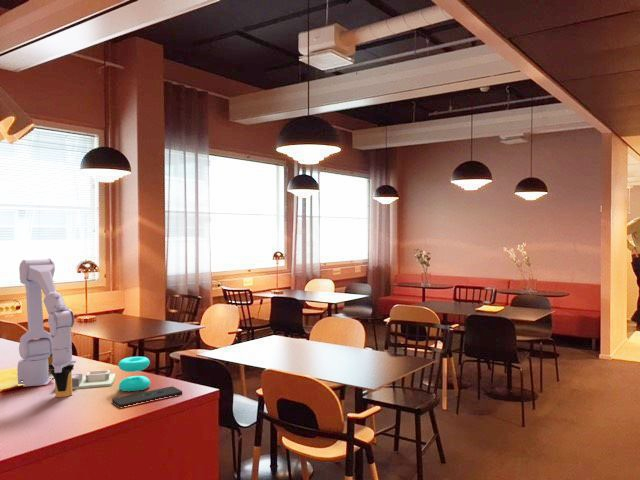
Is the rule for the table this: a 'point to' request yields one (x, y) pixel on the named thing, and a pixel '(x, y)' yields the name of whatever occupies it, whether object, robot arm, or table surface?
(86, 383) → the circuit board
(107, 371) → the frame
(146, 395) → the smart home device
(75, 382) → the grey dome button
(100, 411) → the table surface
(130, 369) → the donuts
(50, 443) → the table surface
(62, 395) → the plug
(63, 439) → the table surface
